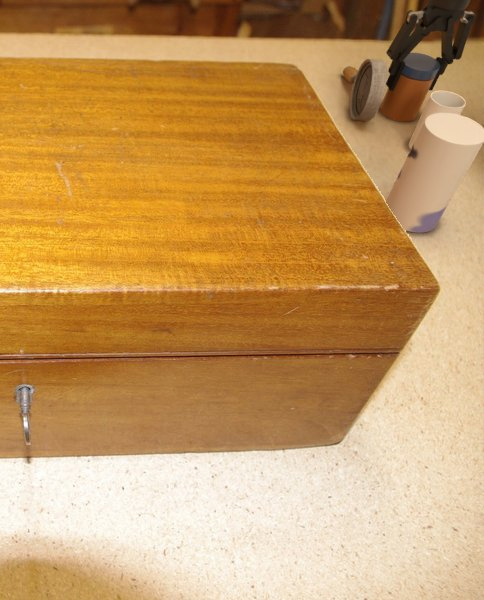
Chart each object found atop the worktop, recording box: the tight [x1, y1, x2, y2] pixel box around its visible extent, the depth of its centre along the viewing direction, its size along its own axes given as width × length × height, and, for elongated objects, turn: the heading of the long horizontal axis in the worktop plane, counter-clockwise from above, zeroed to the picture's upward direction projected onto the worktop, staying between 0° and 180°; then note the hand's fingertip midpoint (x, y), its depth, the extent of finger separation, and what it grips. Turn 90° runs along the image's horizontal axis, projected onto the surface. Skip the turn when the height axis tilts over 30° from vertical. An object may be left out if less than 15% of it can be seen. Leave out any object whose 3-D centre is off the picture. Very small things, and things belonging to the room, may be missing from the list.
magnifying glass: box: [342, 58, 388, 122], centre depth 160 cm, size 13×3×25 cm
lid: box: [401, 52, 440, 80], centre depth 153 cm, size 8×8×2 cm
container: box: [385, 113, 484, 233], centre depth 128 cm, size 10×10×20 cm
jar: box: [379, 73, 435, 123], centre depth 157 cm, size 8×8×12 cm
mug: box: [408, 89, 467, 151], centre depth 148 cm, size 10×7×12 cm, turn 166°
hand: (408, 87), depth 157 cm, fingers closed on lid, 8 cm apart
